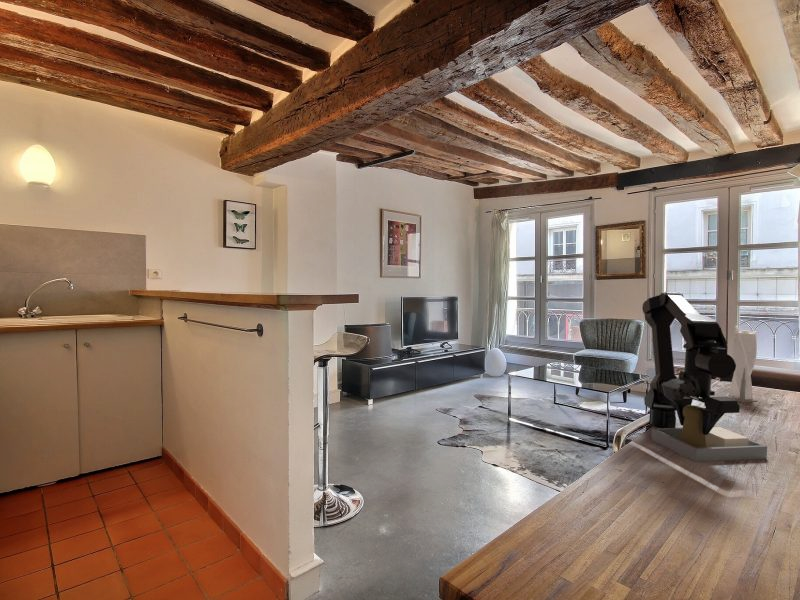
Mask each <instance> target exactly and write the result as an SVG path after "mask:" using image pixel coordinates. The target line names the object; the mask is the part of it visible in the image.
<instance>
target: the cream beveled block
mask: <svg viewBox="0 0 800 600" xmlns="http://www.w3.org/2000/svg"><path fill="white" fill-rule="evenodd" d="M705 437H706V447H707V448H709V447H732V446H748V441H749V440H750V438H749V437H747V436H744V435H742V434H739V433H736V432H734V431H731V430H729V429H726V428H723V427H720V426H714V427H713V428H712V430H711V431H710V432H709V434H708V435H705Z"/></svg>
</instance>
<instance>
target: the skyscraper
mask: <svg viewBox="0 0 800 600" xmlns="http://www.w3.org/2000/svg"><path fill="white" fill-rule="evenodd" d="M734 331H735V332H734V335H733V341H732V345H731V346H732V347H731V355H730V356H731V357H732V358H733V359H734V361H735V364H736V369H735V371H734V373H733V374H732V375H733V376H732V379H731V384H730V387H729V391H728V395H725V396H724V397H726V398H730V399H733V400H736V401H737V402H740V403H756V402H758V400H756V399H753V398H754V397H753V395H754V394H753V386H752V376H751V374H752V373H753V370H754V368H755V364H756V360H757V353H758V352H757V350H758V346H757V345H758V344H757V333H756V331H755V330H752V332H751V331H750V330H748V329H747V330H746V329H745V330H744V329H741V330H739V326H738V325H735V327H734Z"/></svg>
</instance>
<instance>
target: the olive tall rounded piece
mask: <svg viewBox="0 0 800 600" xmlns="http://www.w3.org/2000/svg"><path fill="white" fill-rule="evenodd" d="M699 408H703V407H702V406H699V405H693V404H691V405H687V406H685V407H684V408H683V415H684V417H685V419H684V424H683V426H682V427H681V428H682V432H681V436H680V441H683V442H685V443H687V444H689V445H691V446H693V447H695V448H706V437H705V435H704V434H703V430H702V426H703V414H702V412H701V411H700V409H699Z"/></svg>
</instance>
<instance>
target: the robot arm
mask: <svg viewBox="0 0 800 600" xmlns="http://www.w3.org/2000/svg"><path fill="white" fill-rule="evenodd" d="M641 308H642V313H643V316H644V319H645V322H646V323H647V324H648V325H649V327H650V328H651V337H652V347H653V359H654V360H653V361H654V371H655V376H654V377H653V378H652V380H651V382H650V384H649V390H648V392H647V393H646V395H645V396H644V398H643V400H644V401H643V402H644V405H645V406H646V407H647V408H649V417H648V418H649V420H648V423H650V425H651V426H653V427H655V428H677V427H676V424H677V418H678V420H679V423H680V426H682V427H683V424H684V419H685V417H684V415H683V408H684V407H685V406H687V405H693V404H692V403H693V400H695V401H698V402H700V403H704V407H702V408H699V409H700V411H701V412H702V414H703V426H702V430H703V434H704V435H708V434H709V432H710V431H711V430H712V428H713V427H715V426H716V424H717V423H718V422H719V420H720V419H721V418H722V417H724V415H725V414H740V410H741V409H740V408H741V405H740V403H739V401H736V400H733V399H730V398H726V397H725V396H716V395H715V393H716V392H715V390H714V391H713V390H711V389H712V380H717V379H716V378H718V379H726V378H728V377H731V376H732V375H734V371H735V369H736V364H735V361H734V359H733V358H732V357H731V355H729V354H728V345H727V344H728V341H727V340H726V337H725V335H724V333H723V330H722V328H721V326H720V324H719V322H718V321H716V320H715V319H713V318H712V317H710V316H707V315H704V314H703V315H702V314H701V313H699V312H698V311H697V310H696V309H695V308H694V307H693V306H692V305H691V304H690V302H688V301H687V300H686V299H685V298H684V294H683V293H680V292H673V291H664V292H662V293H660V294H658V295H655V296H652V297H649V298H647V299H646V300H645V301H644V302H643V304H642V307H641ZM675 319H676V321H677V322H678V323H679V324H680V330H679V332H680V334H681V336H682V339H683V340H684V341H685V343H684V344H683V346H682V347H683V348H684V349H685V356H684V357H685V358H684V370H680V371H679V373H678V377H677V376H676V374H675V366H674V365H675V364H674V354H673V344H672V343H673V342H672V333H671V325H672V323H674V321H675ZM676 414H677V417H676Z"/></svg>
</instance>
